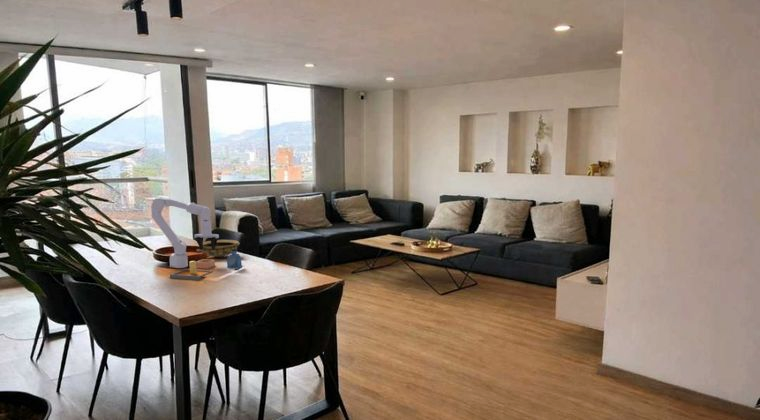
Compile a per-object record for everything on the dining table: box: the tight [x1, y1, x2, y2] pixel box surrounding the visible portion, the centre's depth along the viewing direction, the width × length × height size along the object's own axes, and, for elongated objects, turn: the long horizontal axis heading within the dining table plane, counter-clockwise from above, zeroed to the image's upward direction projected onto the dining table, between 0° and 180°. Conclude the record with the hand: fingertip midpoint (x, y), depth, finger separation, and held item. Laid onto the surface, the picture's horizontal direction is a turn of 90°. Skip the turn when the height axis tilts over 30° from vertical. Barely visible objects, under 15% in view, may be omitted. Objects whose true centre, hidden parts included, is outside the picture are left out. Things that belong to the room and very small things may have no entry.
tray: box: [169, 268, 214, 281], centre depth 274 cm, size 18×13×2 cm
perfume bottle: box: [226, 248, 243, 271], centre depth 290 cm, size 6×6×12 cm
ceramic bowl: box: [196, 239, 240, 260], centre depth 320 cm, size 30×24×10 cm
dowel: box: [188, 260, 197, 275], centre depth 273 cm, size 3×3×8 cm
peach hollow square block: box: [196, 258, 216, 270], centre depth 290 cm, size 8×8×5 cm
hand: (207, 249), depth 294 cm, fingers open, 7 cm apart
